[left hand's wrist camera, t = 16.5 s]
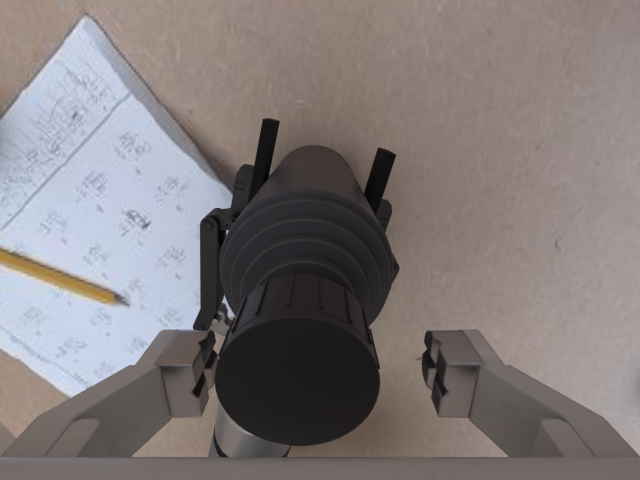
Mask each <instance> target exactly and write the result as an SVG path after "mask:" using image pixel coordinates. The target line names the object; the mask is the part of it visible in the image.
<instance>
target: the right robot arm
mask: <svg viewBox="0 0 640 480" xmlns="http://www.w3.org/2000/svg"><path fill="white" fill-rule="evenodd" d="M279 122H280V121H278V120H274V119H270V118H267V119H263V122H262V127H261V133H260V138H259V144H258V149H257V154H256V160H255V165H254V166H252V165H248V164H244V165H243V166H242V167H241V168H240V169H239V171H238V172H237V175H236V182H235V188H234V193H233V199H232V205H231V208H228V209H220V208H215V209H213V210H212V211H211V212H210V213H209V214H208V215H207V216H206V217H205V218H203V219H202V221H201V223H200V280H201V309H200V311H199V314H198V316H197V318H196V320H195V323H194V325H193V329H194V330H212V331H214V332H216V333H219V334H221V335H224V336H226V335H227V333H228V331H229V328H230V326H231V323H232V320H230V319H229V318H228V315H227V314H228V310H227V308H226V304H224V303H222V301H223V298H224V290H223V285H222V282H221V276H220V256H221V250H222V246H223V243H224V240H225V238H226V230H230V228H231V227H232V225H233V224H234V222H235V221H236V220H237V218H238V217H239V216H240V214H241V213H242V212H243V210H244V209H245V208H246V207H247V205H248V204H249V203H250V201H251V200H252V199H253V198H254V196H255V195H256V194H257V192H258V191H259V190H260V188H261V187H262V186H263V185H264V183H265V182H266V181H267V179H268V177H269V172H270V167H271V162H272V157H273V152H274V147H275V142H276V137H277V132H278V127H279ZM395 157H396V154H394V153H392V152H390V151H389V150H385V149H382V148H378V150H377V153H376V156H375V159H374V163H373V166H372V169H371V172H370V176H369V179H368V182H367V185H366V189H365V192H364V195H365V197H366V199H367V201H368V203H369V205H370V207H371V209H372V211H373V212H374V214H375V216H376V218H377V220H378V222H379V224H380V226H381V228H382V229H383V231H384V233H385V231H386V228H387V225H388V222H389V219H390V217H391V214H392V207H391V204H390V203H389V202H388V200H384V199H382V196H383V193H384V190H385V187H386V184H387V181H388V178H389V175H390V172H391V169H392V166H393V163H394V160H395ZM392 256H393V267H394V270H393V280H392V283H393V281H394V279H395V277H396V275H397V274H398V272H399V265H398V263H397V261H396V259H395V257H394V255H393V253H392ZM290 447H291V446H290V445H282V444H277V443H273V442H269V441H266V440H263V439H261V438H259V437H256V436H254V435H252V434H251V433H249V432H247V431H245V430H244V429H243V428H241V427H240V426H238V425H237V424H236V423H235V422H234V421H233V420H232V419H231V418H230V417H229V415H228V414H227V413H226V412H225V410H224V408H223V407H222V405H221V403H220V401H219V406H218V411H217V416H216V422H215V427H214V435H213V439H212V443H211V447H210V451H209V456H208V457H287V456H288V453H289V450H290Z"/></svg>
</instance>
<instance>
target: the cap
mask: <svg viewBox="0 0 640 480" xmlns="http://www.w3.org/2000/svg"><path fill="white" fill-rule="evenodd" d="M218 356H219V357H220V358H219V360H218V363H217V367H216V371H215V387H216V392H217V396H218V399H219V401H220V403H221V405H222V407H223V408H224V410H225V412H226V413H227V414H228V415H229V417H230V418H231V419H232V420H233V421H234V422H235V423H236V424H237V425H238V426H240V427H241V428H243V429H244V430H245V431H247V432H249V433H251V434H252V435H254V436H256V437H259V438H261V439H263V440H266V441H269V442H273V443H277V444H282V445H290V446H308V445H316V444H322V443H325V442H329V441H332V440H335V439H337V438H340V437H342V436H344V435H346V434H348V433H349V432H351V431H352V430H354V429H355V428H356V427H357V426H359V425H360V424H361V423H362V422H363V421H364V420H365V419H366V418H367V417H368V415H369V414H370V412H371V411H372V409H373V407H374V405H375V403H376V401H377V397H378V394H379V388H380V375H379V370H378V369H380V366H379V362H378V358H377V353H376V349H375V345H374V340H373V336H372V332H371V329H369V325H368V321H367V316H366V312H365V308H364V307H362V306H361V305H360V303H359V302H358V300H357V299H356V298H355V297H354V296H353V295H352V294H351V293H350V292H349V291H348V289H347V288H344V287H342V286H341V285H339V284H337V283H336V282H334V281H331V280H329V279H326V278H323V277H322V276H320V277H319V276H315V275H308V274H291V275H286V276H282V277H278V278H275V279H272V280H270V281H268V282H267V281H266V282H264V284H262V285H261V286H259V287H258V288H256V289H255V290H254V291H253V292H252V293H250V294H249V296H248V297H245V298H244V300H243V302H242V304H241V307H240V309H239V311H238V314H237V316H236V318H234V319H233V321H232V323H231V326H230V328H229V331H228V333H227V335H226V338H225V340H224V343H223V345H222V347H221V350H220V352H219V355H218Z"/></svg>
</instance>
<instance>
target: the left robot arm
mask: <svg viewBox="0 0 640 480" xmlns="http://www.w3.org/2000/svg"><path fill="white" fill-rule="evenodd" d="M215 343H216V340H215V334H214V332H213V331H212V330H162V331H160V332H159V334H158V335H157V336H156V338H155V339H154V340H153V342H152V343H151V344H150V346H149V347H148V348H147V350H146V351H145V352H144V354H143V355H142V356H141V358H140V359H139V361H138V362H137V363H136V365H129V366H128V367H126V368H124V369H122V370H120V371H119V372H117V373H115V374H113V375H111V376H110V377H108V378H106V379H104V380H102V381H101V382H99V383H97V384H95V385H94V386H92V387H90V388H88V389H86V390H85V391H83V392H81V393H79V394H77V395H76V396H74V397H72V398H70V399H68V400H67V401H65V402H63V403H61V404H60V405H58V406H56V407H54V408H52V409H51V410H49V411H47V412H45V413H43V414H42V415H40V416H38V417H37V418H36V419H35V420H34V421H33V422H32V423H31V424H30V425H29V426H28V427H27V428H26V429H25V431H24V432H23V433H22V434H21V435H20V436H19V437H18V438H17V439H16V440H15V441H14V442H13V443H12V444H11V446H10V447H9V448H8V449H7V450H6V451H5V452H4V453H3V454H2V455H1V456H0V480H640V456H639V455H638V454H637V453H636V452H635V451H634V450H633V449H632V448H631V447H630V445H629V444H628V443H627V442H626V441H625V440H624V439H623V438H622V437H621V436H620V435H619V434H618V433H617V431H616V430H615V429H614V428H613V427H612V426H611V425H610V424H609V423H608V422H607V421H606V420H605V419H604V418H603V417H602V416H600V415H598V414H596V413H595V412H593V411H591V410H589V409H587V408H586V407H584V406H582V405H580V404H579V403H577V402H575V401H573V400H571V399H570V398H568V397H566V396H564V395H562V394H561V393H559V392H557V391H555V390H554V389H552V388H550V387H548V386H546V385H545V384H543V383H541V382H539V381H537V380H536V379H534V378H532V377H530V376H529V375H527V374H525V373H523V372H521V371H520V370H518V369H516V368H514V367H512V366H511V365H504V363H503V362H502V361H501V359H500V358H499V357H498V355H497V354H496V353H495V351H494V350H493V349H492V347H491V346H490V345H489V343H488V342H487V341H486V339H485V338H484V336H483V335H482V334H481V332H480V331H478V330H476V329H472V330H444V331H427V332H426V334H425V340H424V343H425V345H426V347H427V350H426V351H425V352H424V353H423V356H422V373H423V377H424V381H425V383H426V386H427V387H428V388H430V389H431V390H432V396H431V399H432V401H433V404H434V406H435V409H436V411H437V414H438V416H439V417H455V418H469V420H470V421H471V422H473V423H474V424H475V425H476V426H477V427H478V428H479V429H480V430H481V431H482V432H483V433H484V434H485V435H486V436H488V437H489V438H490V439H491V440H492V441H493V442H494V443H495V444H496V445H497V446H498V447H499V448H500V449H502V450H503V451H504V452H505V453H506V454H507V455H508V456H509V457H131V456H132V455H133V454H134V453H135V452H136V451H137V450H139V449H140V448H141V447H142V446H143V445H144V444H145V443H146V442H147V441H148V440H149V439H150V438H152V437H153V436H154V435H155V434H156V433H157V432H158V431H159V430H160V429H161V428H162V427H163V426H164V425H166V424H167V423H168V422H169V421H170V420H171V418H185V417H202V414H203V411H204V409H205V406H206V404H207V401H208V399H209V396H208V390H209V389H210V388H212V387H213V386H214V383H215V371H216V367H217V363H218V355H217V353H216V352H215V351H214V350H213V347H214V345H215Z"/></svg>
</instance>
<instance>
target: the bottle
mask: <svg viewBox="0 0 640 480" xmlns="http://www.w3.org/2000/svg"><path fill="white" fill-rule="evenodd" d="M393 270H394V267H393V256H392V252H391V247H390V245H389V242H388V239H387V237H386V235H385V233H384V231H383V229H382V228H381V226H380V224H379V222H378V220H377V218H376V216H375V214H374V212H373V211H372V209H371V207H370V205H369V203H368V201H367V199H366V197H365V195H364V194H363V192H362V190H361V188H360V186H359V184H358V182H357V180H356V179H355V177H354V175H353V173H352V171H351V169H350V167H349V165H348V164H347V162H346V161H345V160H344V159H343V158H342V157H341V156H340V155H339V154H338V153H337V152H335V151H333V150H331V149H329V148H327V147H323V146H317V145H310V146H304V147H301V148H298V149H296V150H294V151H292V152H291V153H289V154H288V155H287V156H286V157H285V158H284V159H283V160H282V161H281V163H280V164H279V165H278V167H277V168H276V169H275V170H274V172H273V173H272V174H271V176H270V177H269V178H268V179H267V181H266V182H265V183H264V185H263V186H262V187H261V188H260V190H259V191H258V192H257V194H256V195H255V196H254V198H253V199H252V200H251V201H250V203H249V204H248V205H247V207H246V208H245V209H244V210H243V212H242V213H241V214H240V216H239V217H238V218H237V220H236V221H235V222H234V224H233V225H232V227H231V228H230V230H229V232H228V234H227V236H226V238H225V240H224V243H223V246H222V250H221V256H220V276H221V282H222V285H223V290H224V293H225V297H226V299H227V302H228V304H229V306H230V308H231V310H232V311H233V313H234V315H235V316H237V314H238V311H239V309H240V307H241V304H242V302H243V300H244V298H245V297H248V296H249V294H250V293H252V292H253V291H254V290H255V289H256V288H258V287H259V286H261V285H262V284H264V282H266V281H267V282H268V281H270V280H272V279H275V278H278V277H282V276H286V275H291V274H308V275H315V276H319V277H320V276H322V277H323V278H326V279H329V280H331V281H334V282H336V283H337V284H339V285H341V286H342V287H344V288H347V289H348V291H349V292H350V293H351V294H352V295H353V296H354V297H355V298H356V299H357V300H358V302H359V303H360V305H361V306H362V307H364V308H365V312H366V316H367V321H368V325H369V326H370V325H371V324H372V323H373V321H374V320H375V319H376V317H377V316H378V315H379V313H380V311H381V310H382V308H383V306H384V304H385V301H386V299H387V297H388V294H389V291H390V289H391V285H392V280H393Z"/></svg>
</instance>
